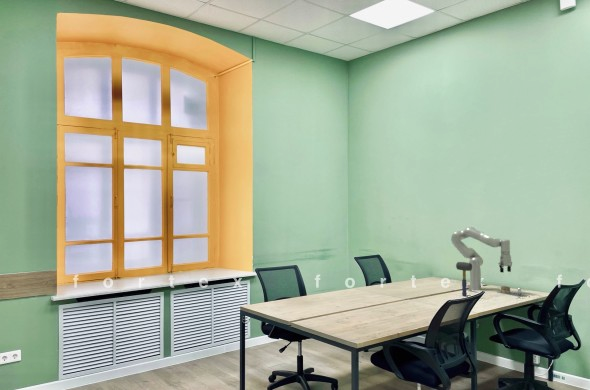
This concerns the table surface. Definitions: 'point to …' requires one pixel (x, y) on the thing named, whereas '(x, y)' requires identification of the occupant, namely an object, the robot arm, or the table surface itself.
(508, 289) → the wooden collar
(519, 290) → the steel shaft
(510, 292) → the base plate
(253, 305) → the table surface
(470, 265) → the rubber mallet
